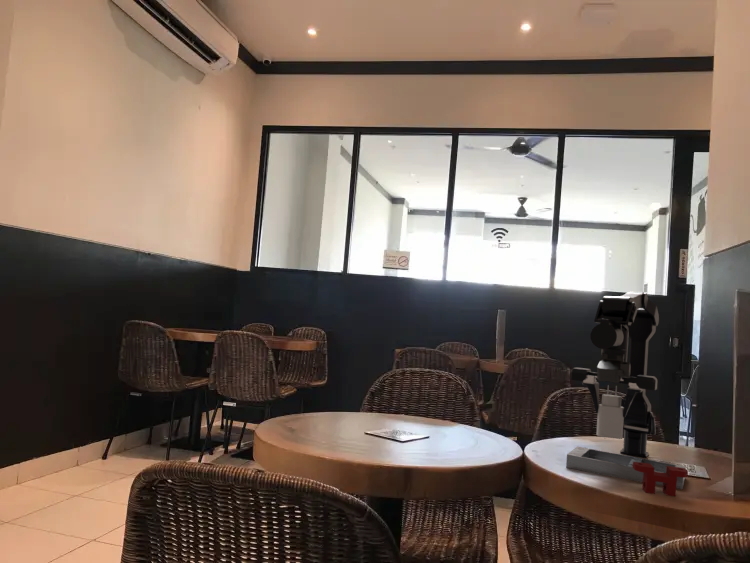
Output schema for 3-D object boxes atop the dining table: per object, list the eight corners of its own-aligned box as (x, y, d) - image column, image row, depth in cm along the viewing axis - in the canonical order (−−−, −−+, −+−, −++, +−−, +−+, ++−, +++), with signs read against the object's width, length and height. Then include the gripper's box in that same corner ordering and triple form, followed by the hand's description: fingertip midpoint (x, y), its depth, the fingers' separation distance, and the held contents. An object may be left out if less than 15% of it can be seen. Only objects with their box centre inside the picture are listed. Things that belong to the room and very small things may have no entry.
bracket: (689, 472, 116) (636, 465, 118) (687, 500, 116) (634, 493, 118) (684, 468, 119) (632, 461, 121) (682, 495, 119) (630, 488, 121)
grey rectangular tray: (576, 458, 145) (577, 446, 145) (684, 479, 133) (685, 466, 133) (566, 467, 135) (566, 454, 135) (682, 491, 123) (683, 476, 123)
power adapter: (595, 433, 138) (598, 383, 139) (619, 436, 137) (622, 385, 138) (598, 436, 135) (602, 385, 136) (623, 439, 134) (626, 387, 135)
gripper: (566, 345, 135) (562, 412, 134) (655, 354, 126) (650, 426, 125) (576, 344, 145) (572, 407, 144) (659, 353, 135) (655, 420, 134)
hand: (610, 415), depth 137 cm, fingers closed on power adapter, 6 cm apart
